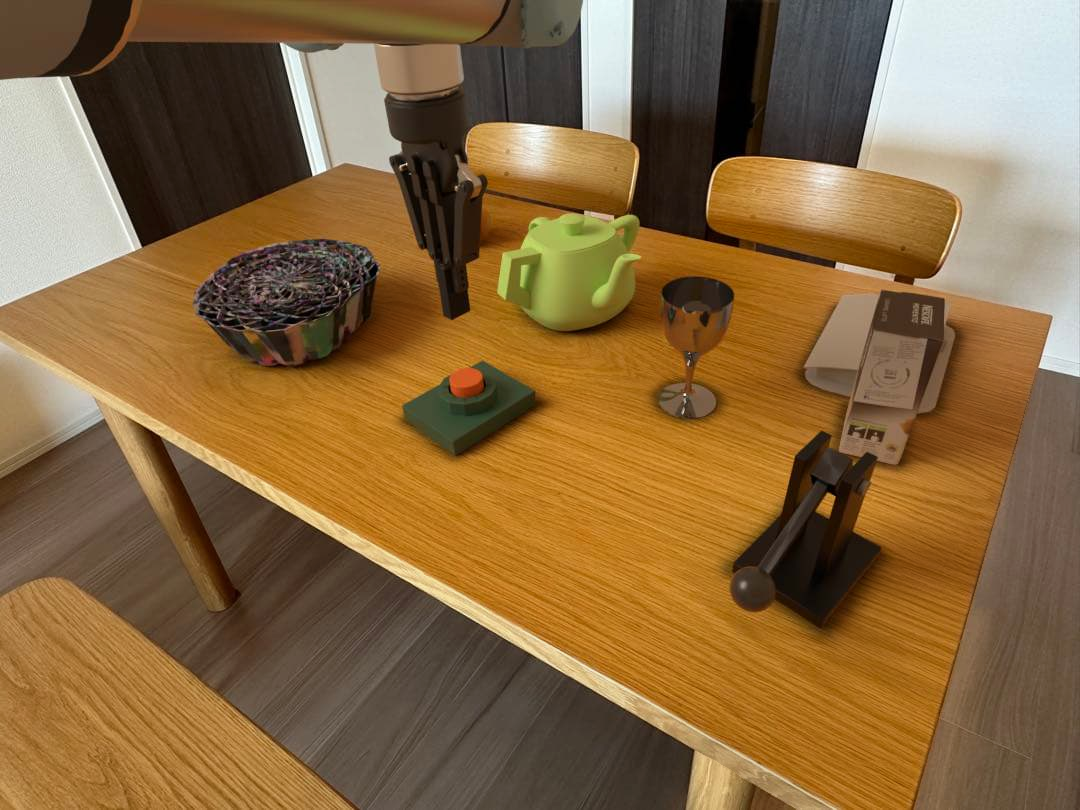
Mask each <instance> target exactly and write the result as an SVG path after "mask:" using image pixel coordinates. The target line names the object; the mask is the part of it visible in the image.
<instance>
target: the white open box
mask: <svg viewBox="0 0 1080 810" xmlns="http://www.w3.org/2000/svg"><path fill="white" fill-rule="evenodd" d="M879 294H880V293H868V292H867V293H851V294H842V296H841V297H840V299H839V301H838V303H837V304H836V307H835V309H834V310H833V312H832V314H831V316H830V317H829V318H828V321H827V323H826V325H825V326H824V329H823V331H822V332H821V334H820V336H819V338H818V339H817V341H816V343H815V345H814V347H813V349H812V350H811V353H810V354H809V356H808V358H807V360H806V362H805V364H804V365H803V369H806V370H805V371H804V376H805V380H807V382H809V384H810V385H812V386H814V387H816V388H819V389H821V390H823V391H826V392H831V393H834V394H838V395H840V396H845V397H848V398H851V394H852V390H853V386H854V383H855V379H856V376H857V372H858V368H859V364H860V361H861V357H862V354H863V350H864V346H865V343H866V339H867V336H868V332H869V329H870V325H871V322H872V318H873V315H874V311H875V308H876V304H877V301H878V298H879ZM952 303H953V302H952V301H951V302H950V301H946V300H945V310H944V342H943V344H942V346H941V349H940V352H939V355H938V357H937V360H936V363H935V366H934V369H933V371H932V374H931V377H930V380H929V382H928V385H927V388H926V391H925V394H924V396H923V399H922V401H921V404H920V407H919V410H918V412H917V415H918V414H925V413H931V412H932V411H933V410H934V408H936V406H937V402H938V399H939V395H940V392H941V389H942V384H943V381H944V377H945V374H946V370H947V366H948V363H949V360H950V357H951V352H952V348H953V345H954V341H955V338H956V332H955V330H954V329H953V328H951V327H950V326H949V325H947V320H948V317H949V314H950V313H949V312H950V310H951V306H952Z"/></svg>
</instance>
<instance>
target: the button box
mask: <svg viewBox="0 0 1080 810" xmlns="http://www.w3.org/2000/svg"><path fill="white" fill-rule="evenodd" d="M469 368H473V369H477V370H479V371H480V372H481V373H482V376H483V383H484V389H483V391H482V393H480V394H479V395H477V396H474V397H469V398H460V397H456V396H454V395H453V394H452V392H451V387H450V381H449V378H450V376H451V374H450V375H448V376H446V377H444V378H443V379H442V380H441V382H440V383H439V384H438V385H435V386H434V387H432V388H431V389H429V390H427V391H425V392H424V393H421V394H419V395H418V396H417V397H414V398H413V399H410V400H409V401H408V402H405V403H404V404H402V405H401V407H402V408H401V409H402V413H403V416H404V421H406V422H408V423H410V424H411V425H412V426H413V427H415V428H416V429H418V431H420V432H421V433H423V434H424V435H426V436H427V437H428V438H430V439H431V440H432V441H434V442H435V443H436V444H438V445H439V446H441V447H442V448H443V449H445V450H446V451H448V452H449V453H450V454H452V456H455V457H456V456H458V455H460V454H461V453H462V452H464V451H466V450H467V449H468V448H470V447H473V445H475V444H476V443H478V442H480V441H481V440H483V439H485V438H486V437H488V436H489V435H491V434H492V433H494V432H495V431H497V430H498V429H500V428H502V427H503V426H505V425H507V424H509V422H511V421H513V420H515V419H516V418H517V417H519V416H520V415H523V413H525V412H527V411H529V409H532V408H533V407H535V406H536V405H537V401H536V399H537V398H536V390H535V389H533V388H531V387H529V386H527V385H526V384H524V383H523V382H521V381H519V380H517V379H516V378H514V377H512V376H510V374H509V375H508V373H506V372H504V371H502V370H501V369H498V368H496V367H495V366H493V365H492V364H491V363H488V362H487V361H484V360H480V361H479V362H477V363H475V364H473V365H472V366H470V367H469Z"/></svg>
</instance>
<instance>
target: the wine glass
mask: <svg viewBox="0 0 1080 810" xmlns="http://www.w3.org/2000/svg"><path fill="white" fill-rule="evenodd" d="M660 293H661V294H660V295H661V296H660V320H661V327H662V331H663V334H664V338H665V340H666V341H667V342H668V344H669V345H670V347H672V348H673V350H675V351H676V353H678V354H679V355H680V357H681V358H682V360H683V362H684V368H685V382H679V383H674V384H673V383H672V384H670V385H667V386H666V387H664V388H663V389H662V390H661V391H660V392H659V394H658V397H657V402H658V404H659V406H660V408H661V409H662V410H663V411H664V412H666V413H667V414H669V415H671V416H674V417H675V418H680V419H681V418H682V419H698V418H699V419H700V418H703V417H706V416H708V415H709V414H711V413H712V412H713V411H714V410H716V407H717V398H716V396H715V394H714V393H713V392H712V391H710V390H709V389H708V388H707V387H705V386H703V385H699V384H695V383H693V379H694V374H695V371H696V367H697V364H698V362H699V361H700V360H701V359H702V358H703V357H704V356H706V355H707V354H709V353H710V352H712V351H714V350H715V349H716V348H717V347H718V346H719V345H720V344H721V343H722V341H723V340H724V338H725V336H726V334H727V331H728V329H729V326H730V323H731V320H732V315H733V309H734V303H735V292H734V290H733V288H732V287H731V286H730V285H728V284H727V283H725V282H723V281H721V280H719V279H716V278H712V277H707V276H698V275H697V276H692V275H691V276H684V277H679V278H675V279H673V280H670V281H668V282H667V283H666V284H665V285H664V286H663V287H662V289H661V292H660Z"/></svg>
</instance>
